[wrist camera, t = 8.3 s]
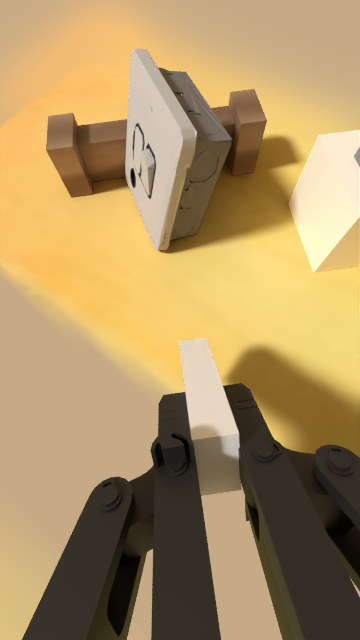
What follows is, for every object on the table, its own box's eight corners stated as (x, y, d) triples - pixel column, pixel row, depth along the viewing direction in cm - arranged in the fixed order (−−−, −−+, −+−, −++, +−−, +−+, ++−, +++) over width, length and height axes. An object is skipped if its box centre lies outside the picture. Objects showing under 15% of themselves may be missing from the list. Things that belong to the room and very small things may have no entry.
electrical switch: (124, 180, 25) (104, 47, 16) (176, 169, 26) (182, 38, 17) (157, 258, 21) (152, 143, 13) (214, 242, 22) (245, 125, 14)
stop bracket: (253, 172, 24) (266, 120, 20) (71, 197, 24) (46, 149, 20) (243, 143, 26) (254, 89, 22) (71, 166, 26) (48, 116, 21)
